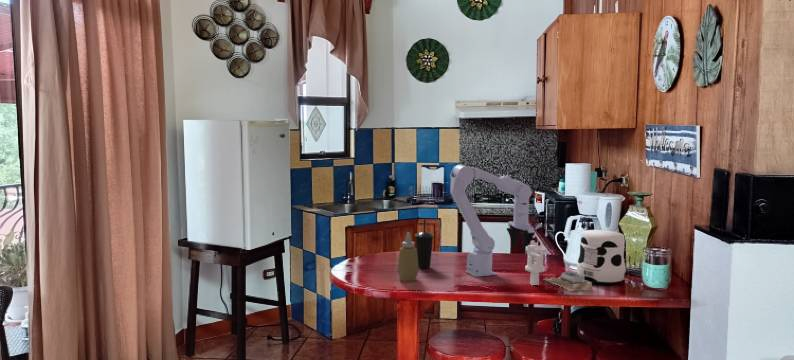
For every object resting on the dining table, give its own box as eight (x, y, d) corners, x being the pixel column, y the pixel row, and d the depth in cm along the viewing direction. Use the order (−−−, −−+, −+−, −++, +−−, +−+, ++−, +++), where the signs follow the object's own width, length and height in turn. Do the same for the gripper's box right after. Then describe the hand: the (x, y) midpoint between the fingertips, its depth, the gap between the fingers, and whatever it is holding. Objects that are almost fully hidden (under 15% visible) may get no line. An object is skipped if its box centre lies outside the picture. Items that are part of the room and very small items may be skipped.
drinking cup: (411, 268, 226) (412, 219, 224) (418, 264, 233) (418, 216, 231) (429, 270, 223) (430, 221, 221) (435, 266, 230) (436, 218, 228)
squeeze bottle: (403, 283, 205) (404, 235, 203) (393, 278, 212) (393, 231, 210) (422, 281, 208) (423, 233, 206) (412, 275, 215) (412, 229, 214)
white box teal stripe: (572, 287, 199) (573, 277, 198) (560, 282, 205) (560, 272, 205) (584, 286, 200) (584, 276, 200) (571, 280, 207) (571, 271, 206)
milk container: (620, 275, 218) (622, 230, 216) (629, 288, 201) (631, 239, 199) (574, 273, 221) (575, 228, 220) (578, 285, 205) (581, 237, 203)
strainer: (520, 283, 207) (521, 243, 205) (534, 280, 210) (536, 241, 208) (533, 288, 201) (535, 247, 199) (548, 285, 204) (550, 245, 202)
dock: (571, 294, 197) (571, 285, 196) (541, 281, 212) (541, 272, 212) (591, 291, 200) (592, 282, 200) (560, 278, 216) (561, 270, 215)
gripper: (540, 215, 215) (539, 250, 216) (519, 210, 228) (518, 242, 230) (525, 216, 212) (524, 252, 214) (504, 211, 226) (503, 244, 227)
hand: (519, 247), depth 221 cm, fingers open, 7 cm apart
